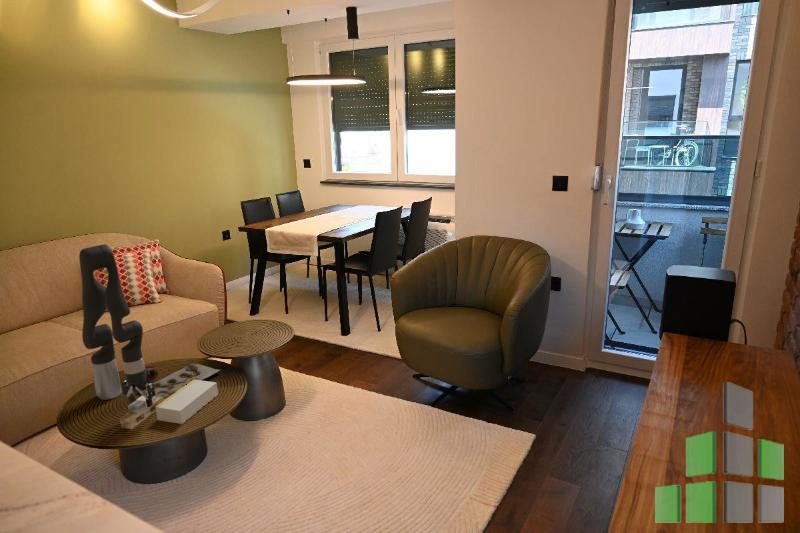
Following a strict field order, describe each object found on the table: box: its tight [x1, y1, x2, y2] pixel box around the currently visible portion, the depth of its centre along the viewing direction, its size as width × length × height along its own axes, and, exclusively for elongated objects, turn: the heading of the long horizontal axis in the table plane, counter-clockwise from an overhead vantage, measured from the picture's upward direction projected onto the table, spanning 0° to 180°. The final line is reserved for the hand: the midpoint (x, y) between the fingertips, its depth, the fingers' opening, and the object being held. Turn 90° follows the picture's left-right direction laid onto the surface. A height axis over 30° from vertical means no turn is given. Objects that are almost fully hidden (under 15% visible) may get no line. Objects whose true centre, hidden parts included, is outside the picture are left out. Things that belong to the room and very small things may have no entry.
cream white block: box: [136, 395, 154, 408], centre depth 210 cm, size 4×4×3 cm
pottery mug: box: [145, 365, 159, 384], centre depth 240 cm, size 12×10×8 cm
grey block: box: [127, 399, 146, 414], centre depth 205 cm, size 4×4×3 cm
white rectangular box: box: [155, 379, 219, 425], centre depth 215 cm, size 12×24×6 cm, turn 164°
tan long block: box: [119, 396, 163, 430], centre depth 209 cm, size 5×18×4 cm, turn 165°
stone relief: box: [143, 363, 222, 402], centre depth 236 cm, size 32×3×20 cm
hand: (141, 405), depth 207 cm, fingers open, 8 cm apart
